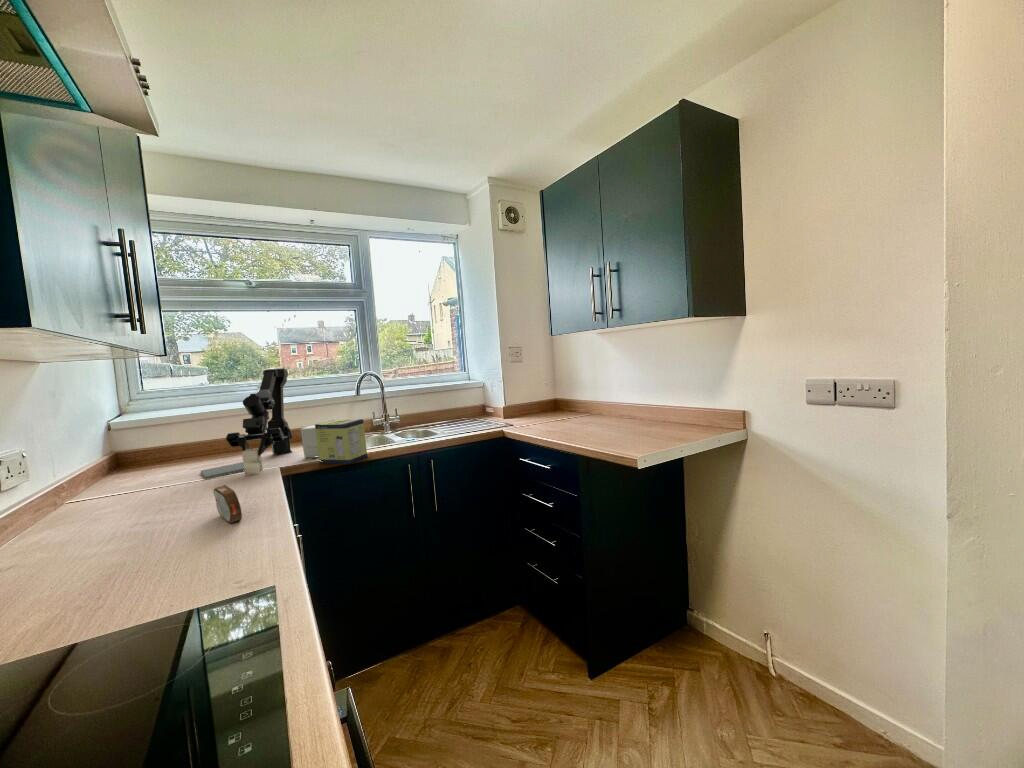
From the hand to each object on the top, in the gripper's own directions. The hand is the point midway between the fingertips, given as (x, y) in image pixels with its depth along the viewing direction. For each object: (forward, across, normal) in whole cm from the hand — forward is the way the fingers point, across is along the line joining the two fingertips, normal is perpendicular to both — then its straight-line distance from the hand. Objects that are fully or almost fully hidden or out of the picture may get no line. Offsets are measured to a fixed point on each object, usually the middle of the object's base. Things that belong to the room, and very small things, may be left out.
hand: (252, 455), depth 160 cm
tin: (+41, +11, -31) cm, 53 cm away
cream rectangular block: (+5, 0, +5) cm, 7 cm away
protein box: (+2, +31, +8) cm, 32 cm away
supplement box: (-9, +18, +18) cm, 27 cm away
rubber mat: (-2, -14, +11) cm, 18 cm away
